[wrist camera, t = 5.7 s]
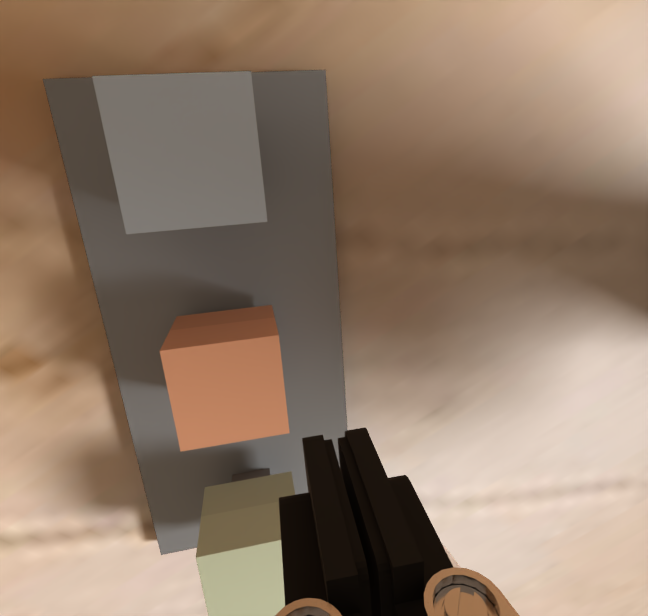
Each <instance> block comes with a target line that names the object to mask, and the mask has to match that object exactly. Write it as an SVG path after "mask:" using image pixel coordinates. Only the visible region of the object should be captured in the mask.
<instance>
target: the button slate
mask: <svg viewBox="0 0 648 616" xmlns="http://www.w3.org/2000/svg"><path fill="white" fill-rule="evenodd" d="M92 78H93V83H94V87H95V92H96V97H97V101H98V106H99V111H100V115H101V120H102V125H103V129H104V134H105V138H106V143H107V148H108V152H109V157H110V162H111V166H112V171H113V176H114V180H115V185H116V189H117V194H118V199H119V203H120V208H121V213H122V217H123V222H124V227H125V231H126V234H136V233H147V232H158V231H169V230H180V229H192V228H203V227H214V226H225V225H237V224H248V223H259V222H268V221H267V212H266V203H265V194H264V185H263V176H262V167H261V158H260V149H259V140H258V131H257V121H256V112H255V103H254V94H253V85H252V76H251V71H232V72H201V73H170V74H139V75H108V76H92Z"/></svg>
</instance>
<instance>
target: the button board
mask: <svg viewBox="0 0 648 616" xmlns="http://www.w3.org/2000/svg"><path fill="white" fill-rule="evenodd" d="M251 76H252V85H253V94H254V103H255V112H256V121H257V131H258V140H259V149H260V158H261V167H262V176H263V185H264V194H265V203H266V212H267V221H268V222H259V223H248V224H237V225H225V226H214V227H203V228H192V229H180V230H169V231H158V232H147V233H136V234H126V231H125V227H124V222H123V217H122V213H121V208H120V203H119V199H118V194H117V189H116V185H115V180H114V176H113V171H112V166H111V162H110V157H109V152H108V148H107V143H106V138H105V134H104V129H103V125H102V120H101V115H100V111H99V106H98V101H97V97H96V92H95V87H94V83H93V78H92V77H89V78H59V79H43V82H44V86H45V90H46V94H47V98H48V102H49V106H50V110H51V114H52V118H53V122H54V126H55V130H56V134H57V138H58V142H59V146H60V150H61V154H62V158H63V162H64V166H65V170H66V174H67V178H68V182H69V186H70V190H71V194H72V198H73V202H74V206H75V210H76V214H77V218H78V222H79V226H80V230H81V234H82V238H83V242H84V246H85V251H86V255H87V259H88V263H89V267H90V271H91V275H92V279H93V283H94V287H95V291H96V295H97V299H98V303H99V307H100V311H101V315H102V319H103V323H104V327H105V331H106V335H107V339H108V343H109V347H110V351H111V355H112V359H113V363H114V367H115V371H116V375H117V379H118V383H119V387H120V391H121V395H122V399H123V403H124V407H125V411H126V415H127V419H128V423H129V427H130V431H131V435H132V440H133V444H134V448H135V452H136V456H137V460H138V464H139V468H140V472H141V476H142V480H143V484H144V488H145V492H146V496H147V500H148V504H149V508H150V512H151V516H152V520H153V524H154V528H155V532H156V536H157V540H158V544H159V548H160V552H161V555H163V554H168V553H173V552H178V551H183V550H187V549H192V548H197V545H198V537H199V529H200V521H201V513H202V505H203V497H204V489H205V487H209V486H214V485H220V484H225V483H231V482H236V481H242V480H247V479H252V478H258V477H263V476H269V475H274V474H279V473H285V472H290V471H291V472H292V478H293V484H294V490H295V495H296V494H302V493H308V486H307V478H306V469H305V461H304V452H303V443H302V438H305V437H311V436H317V435H323V437H324V440H329V439H332V442H333V445H334V449H335V452H336V456H337V459H338V463H339V466H340V462H339V451H338V438H341V437H345V431H347V416H346V399H345V383H344V366H343V350H342V334H341V317H340V301H339V284H338V268H337V251H336V235H335V218H334V202H333V185H332V169H331V152H330V136H329V119H328V103H327V86H326V70H303V71H273V72H251ZM266 305H272V308H273V312H274V317H275V321H276V325H277V330H278V334H279V342H280V351H281V360H282V369H283V378H284V387H285V396H286V405H287V414H288V423H289V432H290V433H287V434H282V435H276V436H270V437H264V438H258V439H252V440H246V441H240V442H234V443H229V444H223V445H217V446H211V447H205V448H199V449H193V450H187V451H180V446H179V441H178V437H177V432H176V427H175V422H174V417H173V413H172V408H171V403H170V398H169V394H168V389H167V384H166V379H165V374H164V370H163V365H162V360H161V355H160V349H161V347H162V345H163V343H164V341H165V339H166V337H167V335H168V333H169V331H170V329H171V327H172V325H173V323H174V321H175V319H176V317H177V316H183V315H192V314H200V313H208V312H217V311H225V310H233V309H241V308H250V307H258V306H266Z"/></svg>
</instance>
